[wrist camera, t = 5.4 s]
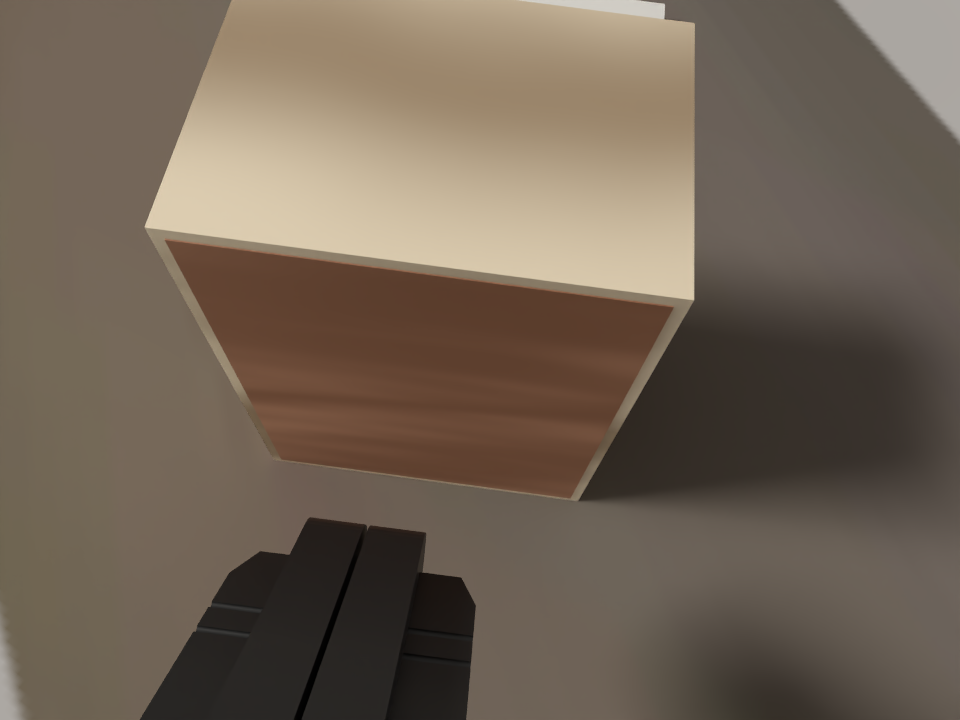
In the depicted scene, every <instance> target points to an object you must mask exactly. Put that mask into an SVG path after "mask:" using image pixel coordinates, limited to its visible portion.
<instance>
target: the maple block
mask: <svg viewBox="0 0 960 720" xmlns="http://www.w3.org/2000/svg"><path fill="white" fill-rule="evenodd" d="M694 46H695V23H689V22H681V21H674V20H666V19H658V18H651V17H643V16H635V15H627V14H620V13H612V12H604V11H597V10H589V9H581V8H573V7H566V6H558V5H550V4H542V3H535V2H527V1H519V0H232V1H231V3H230V6H229V9H228V11H227V14H226V16H225V19H224V22H223V24H222V27H221V29H220V32H219V35H218V37H217V40H216V42H215V45H214V48H213V50H212V53H211V55H210V58H209V61H208V63H207V66H206V68H205V71H204V74H203V76H202V79H201V81H200V84H199V87H198V89H197V92H196V95H195V97H194V100H193V102H192V105H191V108H190V110H189V113H188V115H187V118H186V121H185V123H184V126H183V128H182V131H181V134H180V136H179V139H178V141H177V144H176V147H175V149H174V152H173V154H172V157H171V160H170V162H169V165H168V167H167V170H166V173H165V175H164V178H163V180H162V183H161V186H160V188H159V191H158V193H157V196H156V199H155V201H154V204H153V207H152V209H151V212H150V214H149V217H148V220H147V222H146V225H145V229H146V231H147V233H148V235H149V236H150V238H151V240H152V242H153V244H154V245H155V247H156V249H157V251H158V253H159V254H160V256H161V258H162V260H163V262H164V263H165V265H166V267H167V269H168V271H169V272H170V274H171V276H172V278H173V279H174V281H175V283H176V285H177V287H178V288H179V290H180V292H181V294H182V296H183V297H184V299H185V301H186V303H187V305H188V306H189V308H190V310H191V312H192V314H193V315H194V317H195V319H196V321H197V323H198V324H199V326H200V328H201V330H202V332H203V333H204V335H205V337H206V339H207V340H208V342H209V344H210V346H211V348H212V349H213V351H214V353H215V355H216V357H217V358H218V360H219V362H220V364H221V366H222V367H223V369H224V371H225V373H226V375H227V376H228V378H229V380H230V382H231V384H232V385H233V387H234V389H235V391H236V392H237V394H238V396H239V398H240V400H241V401H242V403H243V405H244V407H245V409H246V410H247V412H248V414H249V416H250V418H251V419H252V421H253V423H254V425H255V427H256V428H257V430H258V432H259V434H260V436H261V437H262V439H263V441H264V443H265V445H266V446H267V448H268V450H269V452H270V453H271V455H272V457H273V459H274V460H277V461H284V462H292V463H299V464H306V465H314V466H321V467H329V468H336V469H343V470H351V471H358V472H366V473H373V474H380V475H388V476H395V477H402V478H410V479H417V480H425V481H432V482H439V483H447V484H454V485H462V486H469V487H476V488H484V489H491V490H498V491H506V492H513V493H521V494H528V495H535V496H543V497H550V498H558V499H565V500H572V501H578V500H579V498H580V497H581V495H582V493H583V492H584V490H585V488H586V486H587V485H588V483H589V481H590V479H591V478H592V476H593V474H594V472H595V471H596V469H597V467H598V466H599V464H600V462H601V460H602V459H603V457H604V455H605V453H606V452H607V450H608V448H609V447H610V445H611V443H612V441H613V440H614V438H615V436H616V434H617V433H618V431H619V429H620V428H621V426H622V424H623V422H624V421H625V419H626V417H627V415H628V414H629V412H630V410H631V408H632V407H633V405H634V403H635V402H636V400H637V398H638V396H639V395H640V393H641V391H642V389H643V388H644V386H645V384H646V383H647V381H648V379H649V377H650V376H651V374H652V372H653V370H654V369H655V367H656V365H657V364H658V362H659V360H660V358H661V357H662V355H663V353H664V351H665V350H666V348H667V346H668V345H669V343H670V341H671V339H672V338H673V336H674V334H675V332H676V331H677V329H678V327H679V325H680V324H681V322H682V320H683V319H684V317H685V315H686V313H687V312H688V310H689V308H690V306H691V305H692V303H693V301H694Z"/></svg>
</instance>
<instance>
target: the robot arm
mask: <svg viewBox="0 0 960 720" xmlns="http://www.w3.org/2000/svg"><path fill="white" fill-rule="evenodd" d="M425 543H426V533H424V532H417V531H409V530H401V529H394V528H386V527H378V526H370V527H369V528H368V531H367V526H366V525H364V524H357V523H349V522H341V521H334V520H326V519H318V518H311V517H310V518H309V519H308V520H307V522H306V523H305V525H304V527H303V529H302V531H301V533H300V535H299V537H298V539H297V541H296V543H295V545H294V547H293V549H292V551H291V553H290V555H285V554H278V553H270V552H262V551H260V552H259V553H257V554H256V555H254V556H253V557H251V558H250V559H249V560H247V561H246V562H244V563H243V564H241V565H240V566H239V567H237V568H236V569H234V570H233V571H231V572H230V573H229V574H228V576H227V578H226V579H225V581H224V582H223V584H222V586H221V587H220V589H219V591H218V592H217V594H216V596H215V597H214V599H213V600H212V605H211V607H208V609H207V610H206V612H205V614H204V615H203V617H202V619H201V620H200V622H199V623H198V625H197V630H196V632H193V633H192V635H191V637H190V638H189V640H188V641H187V643H186V645H185V646H184V648H183V650H182V651H181V653H180V655H179V656H178V658H177V660H176V661H175V663H174V664H173V666H172V668H171V669H170V671H169V673H168V674H167V676H166V678H165V679H164V681H163V682H162V684H161V686H160V687H159V689H158V691H157V692H156V694H155V696H154V697H153V699H152V700H151V702H150V704H149V705H148V707H147V709H146V710H145V712H144V714H143V715H142V717H141V719H140V720H466V714H467V702H468V691H469V679H470V665H471V655H472V643H473V642H472V641H473V631H474V620H475V608H476V605H475V603H474V601H473V599H472V597H471V595H470V594H469V592H468V590H467V588H466V586H465V584H464V582H463V580H462V578H460V577H452V576H444V575H437V574H429V573H422V571H423V562H424V553H425Z"/></svg>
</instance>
